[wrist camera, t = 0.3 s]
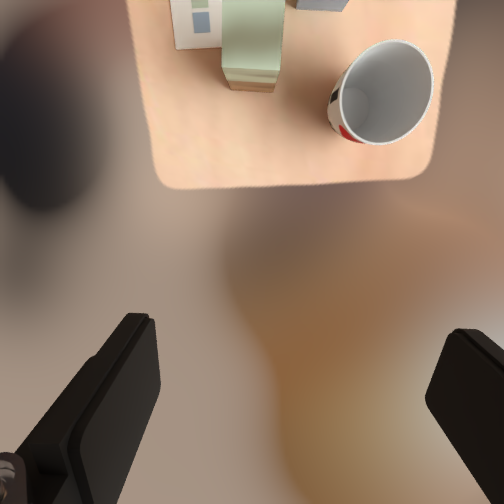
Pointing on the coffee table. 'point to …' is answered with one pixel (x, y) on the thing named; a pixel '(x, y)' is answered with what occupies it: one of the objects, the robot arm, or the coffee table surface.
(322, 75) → the coffee table surface
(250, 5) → the tower base
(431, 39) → the coffee table surface
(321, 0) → the blue brick
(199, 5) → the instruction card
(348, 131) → the cup
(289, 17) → the coffee table surface
